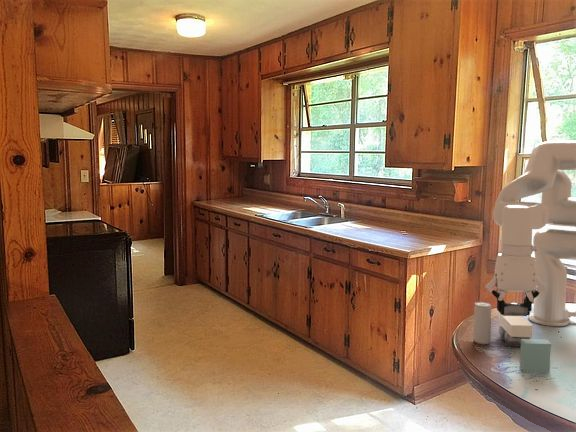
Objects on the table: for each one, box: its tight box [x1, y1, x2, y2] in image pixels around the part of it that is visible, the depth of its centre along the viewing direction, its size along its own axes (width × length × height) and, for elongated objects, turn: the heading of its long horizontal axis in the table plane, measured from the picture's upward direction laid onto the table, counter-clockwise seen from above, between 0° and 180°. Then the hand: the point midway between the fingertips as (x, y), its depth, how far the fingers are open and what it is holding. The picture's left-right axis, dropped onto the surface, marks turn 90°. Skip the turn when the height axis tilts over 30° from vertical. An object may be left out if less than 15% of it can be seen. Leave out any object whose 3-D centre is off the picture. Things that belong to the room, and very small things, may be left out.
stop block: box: [519, 338, 552, 374], centre depth 128 cm, size 6×3×8 cm, turn 83°
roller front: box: [504, 332, 531, 347], centre depth 145 cm, size 6×4×4 cm, turn 83°
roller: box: [503, 302, 528, 317], centre depth 135 cm, size 6×4×4 cm, turn 81°
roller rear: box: [498, 325, 506, 340], centre depth 150 cm, size 6×4×4 cm, turn 83°
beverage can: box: [473, 301, 492, 345], centre depth 148 cm, size 5×5×12 cm
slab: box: [497, 311, 534, 338], centre depth 147 cm, size 6×12×4 cm, turn 173°
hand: (513, 312), depth 135 cm, fingers closed on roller, 6 cm apart
